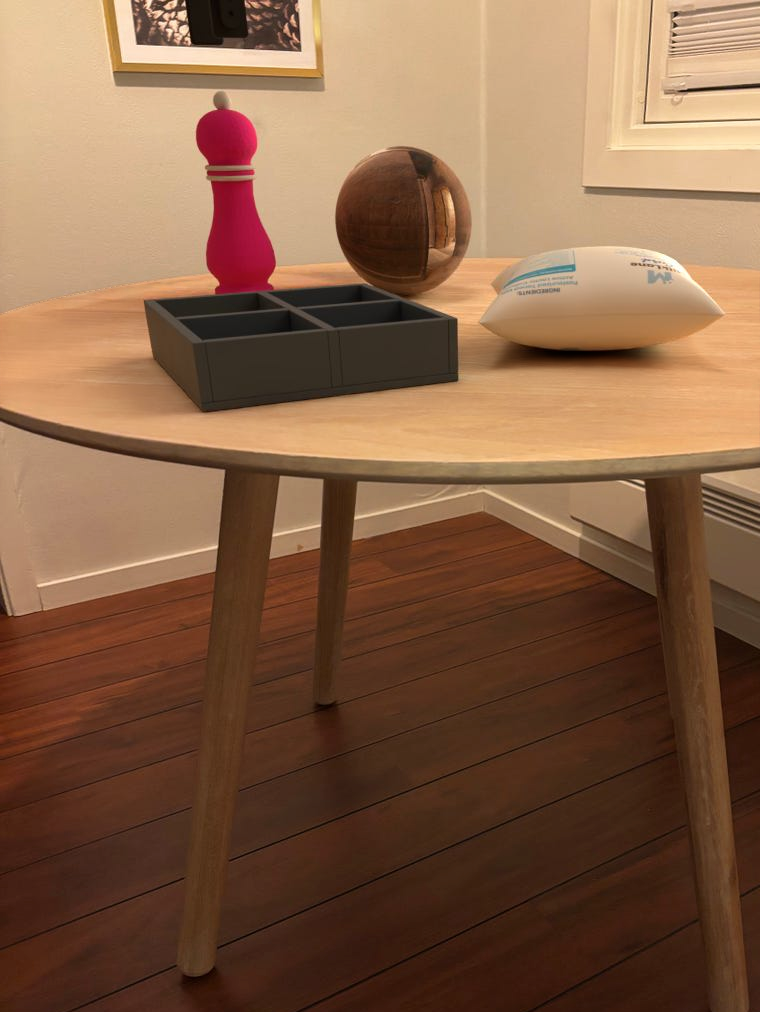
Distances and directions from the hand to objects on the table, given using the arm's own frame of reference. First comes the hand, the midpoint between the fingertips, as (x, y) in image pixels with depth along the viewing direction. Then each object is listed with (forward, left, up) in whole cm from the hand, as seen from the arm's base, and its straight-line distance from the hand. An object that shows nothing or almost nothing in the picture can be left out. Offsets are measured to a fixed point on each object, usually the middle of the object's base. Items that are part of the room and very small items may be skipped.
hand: (218, 41), depth 91 cm
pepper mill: (0, 0, -24) cm, 24 cm away
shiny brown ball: (+18, -2, -24) cm, 30 cm away
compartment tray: (-4, -32, -24) cm, 40 cm away
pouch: (+22, -35, -24) cm, 48 cm away
